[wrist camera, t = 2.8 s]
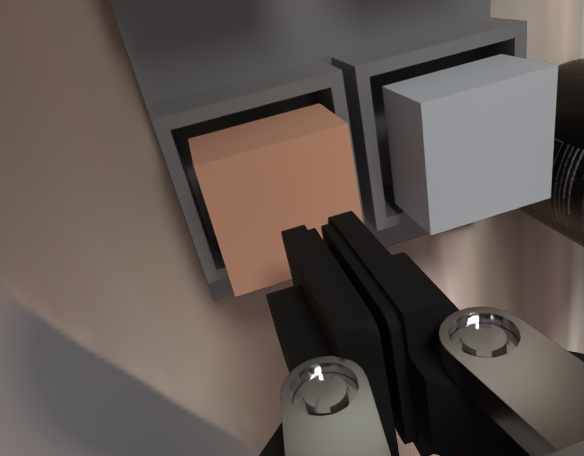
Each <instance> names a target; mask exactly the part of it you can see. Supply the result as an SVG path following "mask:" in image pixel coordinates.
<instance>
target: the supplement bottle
mask: <svg viewBox="0 0 584 456" xmlns="http://www.w3.org/2000/svg"><path fill="white" fill-rule="evenodd" d="M519 209H520V210H522V211H523V212H525V213H527V214H528V215H530V216H532V217H533V218H535V219H536V220H538V221H540V222H542V223H543V224H545V225H547V226H548V227H550V228H552V229H553V230H555V231H557V232H559V233H560V234H562V235H564V236H565V237H567V238H569V239H571V240H572V241H574V242H576V243H577V244H579V245H581V246H583V247H584V59H578V60H574V61H570V62H567V63H564V64H561V65H559V66H558V79H557V97H556V114H555V132H554V149H553V166H552V184H551V198H548V199H545V200H542V201H539V202H536V203H533V204H529V205H526V206H523V207H520V208H519Z"/></svg>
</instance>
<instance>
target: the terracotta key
mask: <svg viewBox="0 0 584 456" xmlns="http://www.w3.org/2000/svg"><path fill="white" fill-rule="evenodd" d="M188 141H189V146H190V151H191V156H192V161H193V166H194V169H195V172H196V175H197V179H198V182H199V185H200V188H201V191H202V194H203V197H204V200H205V204H206V207H207V210H208V213H209V216H210V219H211V222H212V225H213V229H214V232H215V235H216V238H217V241H218V244H219V247H220V250H221V254H222V257H223V260H224V263H225V266H226V269H227V272H228V275H229V279H230V282H231V285H232V288H233V291H234V294H235V297H237V296H240V295H243V294H246V293H250V292H253V291H256V290H259V289H262V288H266V287H269V286H272V285H275V284H278V283H281V282H285V281H288V280H291V279H292V276H291V272H290V268H289V264H288V260H287V256H286V252H285V248H284V244H283V239H282V235H281V231H284V230H287V229H291V228H294V227H297V226H301V225H305V226H306V228H307V229H308V230H309V229H312V228H316V230H317V231H318V233H319V234H320V236H321V237H322V239H323V236H322V231H321V226H322V225H326V224H328V217H331V216H334V215H338V214H341V213H344V212H348V211H353V212H354V213H355V215H356V216H357V217H358V218H359V219H360V220H361V221H362V222H363V220H362V213H361V206H360V200H359V193H358V187H357V180H356V173H355V167H354V160H353V153H352V147H351V140H350V133H349V127H348V123H346V122H345V121H344V120H342V119H341V118H339V117H338V116H337V115H335V114H334V113H332V112H331V111H330V110H328V109H327V108H325V107H324V106H323V105H321V104H320V103H319V104H315V105H311V106H308V107H304V108H300V109H297V110H293V111H289V112H286V113H282V114H278V115H274V116H271V117H267V118H263V119H260V120H256V121H252V122H249V123H245V124H241V125H238V126H234V127H230V128H227V129H223V130H219V131H215V132H212V133H208V134H204V135H201V136H197V137H193V138H190V139H188Z"/></svg>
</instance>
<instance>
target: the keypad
mask: <svg viewBox="0 0 584 456" xmlns="http://www.w3.org/2000/svg"><path fill="white" fill-rule="evenodd" d="M109 1H110V4H111V7H112V10H113V13H114V16H115V18H116V21H117V24H118V27H119V30H120V33H121V36H122V39H123V41H124V44H125V47H126V50H127V53H128V56H129V59H130V62H131V64H132V67H133V70H134V73H135V76H136V79H137V82H138V85H139V87H140V90H141V93H142V96H143V99H144V102H145V105H146V108H147V110H148V113H149V116H150V119H151V122H152V125H153V128H154V131H155V133H156V136H157V139H158V142H159V145H160V148H161V151H162V154H163V156H164V159H165V162H166V165H167V168H168V171H169V174H170V177H171V179H172V182H173V185H174V188H175V191H176V194H177V197H178V200H179V202H180V205H181V208H182V211H183V214H184V217H185V220H186V223H187V225H188V228H189V231H190V234H191V237H192V240H193V243H194V246H195V248H196V251H197V254H198V257H199V260H200V263H201V266H202V269H203V271H204V274H205V277H206V280H207V283H208V286H209V289H210V292H211V294H212V297H213V300H214V301H215V300H218V299H221V298H224V297H228V296H231V295H234V291H233V288H232V285H231V282H230V279H229V275H228V272H227V269H226V266H225V263H224V260H223V257H222V254H221V250H220V247H219V244H218V241H217V238H216V235H215V232H214V229H213V225H212V222H211V219H210V216H209V213H208V210H207V207H206V204H205V200H204V197H203V194H202V191H201V188H200V185H199V182H198V179H197V175H196V172H195V169H194V166H193V161H192V156H191V151H190V146H189V141H188V139H190V138H193V137H197V136H201V135H204V134H208V133H212V132H215V131H219V130H223V129H227V128H230V127H234V126H238V125H241V124H245V123H249V122H252V121H256V120H260V119H263V118H267V117H271V116H274V115H278V114H282V113H286V112H289V111H293V110H297V109H300V108H304V107H308V106H311V105H315V104H319V103H320V104H321V105H323V106H324V107H325V108H327V109H328V110H330V111H331V112H332V113H334V114H335V115H337V116H338V117H339V118H341V119H342V120H344V121H345V122H346V123H348V127H349V133H350V140H351V147H352V153H353V160H354V167H355V173H356V180H357V187H358V193H359V200H360V206H361V213H362V220H363V224H364V225H365V226H366V227H367V228H368V229H369V230H370V231H371V233H372V234H373V235H374V236H375V237H376V238H377V239H378V240H379V242H380V243H381V244H382V245H383V246H384V247H387V246H390V245H393V244H396V243H400V242H403V241H406V240H409V239H412V238H416V237H419V236H422V235H425V234H428V232H426V231H425V230H424V229H423V228H422V227H421V226H420V225H419V224H418V223H416V222H415V221H414V220H413V219H412V218H411V217H410V216H409V215H408V214H407V213H405V212H404V211H403V210H402V209H401V208H400V207H399V206H398V205H397V204H396V203H395V197H394V188H393V179H392V170H391V161H390V152H389V144H388V135H387V126H386V117H385V108H384V99H383V90H382V86H385V85H389V84H392V83H396V82H400V81H404V80H407V79H411V78H415V77H418V76H422V75H426V74H429V73H433V72H437V71H440V70H444V69H448V68H451V67H455V66H459V65H463V64H466V63H470V62H474V61H477V60H481V59H485V58H488V57H492V56H496V55H499V54H504V55H509V56H514V57H519V58H524V59H526V41H527V21H522V20H511V19H500V18H490V0H109Z"/></svg>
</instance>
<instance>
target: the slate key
mask: <svg viewBox="0 0 584 456" xmlns="http://www.w3.org/2000/svg"><path fill="white" fill-rule="evenodd" d="M557 79H558V65H555V64H550V63H545V62H540V61H535V60H530V59H524V58H519V57H514V56H509V55H504V54H499V55H496V56H492V57H488V58H485V59H481V60H477V61H474V62H470V63H466V64H463V65H459V66H455V67H451V68H448V69H444V70H440V71H437V72H433V73H429V74H426V75H422V76H418V77H415V78H411V79H407V80H404V81H400V82H396V83H392V84H389V85H385V86H382V90H383V99H384V108H385V117H386V126H387V135H388V144H389V152H390V161H391V170H392V179H393V188H394V197H395V203H396V204H397V205H398V206H399V207H400V208H401V209H402V210H403V211H404V212H405V213H407V214H408V215H409V216H410V217H411V218H412V219H413V220H414V221H415V222H416V223H418V224H419V225H420V226H421V227H422V228H423V229H424V230H425V231H426V232H428V233H429V234H430V235H434V234H437V233H440V232H444V231H447V230H450V229H453V228H456V227H459V226H463V225H466V224H469V223H472V222H475V221H479V220H482V219H485V218H488V217H491V216H494V215H498V214H501V213H504V212H507V211H510V210H514V209H517V208H520V207H523V206H526V205H529V204H533V203H536V202H539V201H542V200H545V199H548V198H551V184H552V166H553V149H554V132H555V114H556V97H557Z"/></svg>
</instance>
